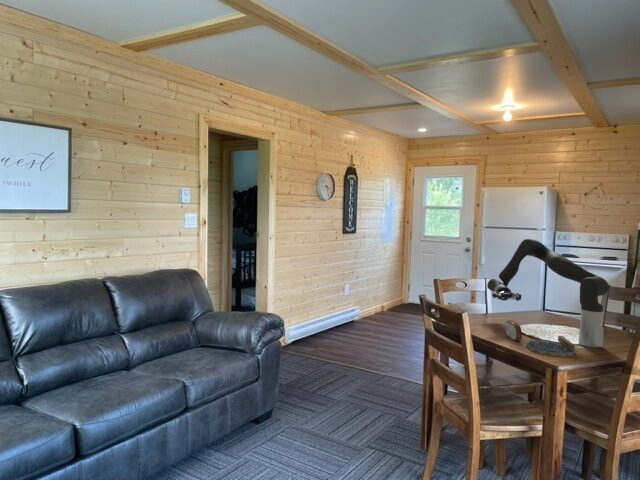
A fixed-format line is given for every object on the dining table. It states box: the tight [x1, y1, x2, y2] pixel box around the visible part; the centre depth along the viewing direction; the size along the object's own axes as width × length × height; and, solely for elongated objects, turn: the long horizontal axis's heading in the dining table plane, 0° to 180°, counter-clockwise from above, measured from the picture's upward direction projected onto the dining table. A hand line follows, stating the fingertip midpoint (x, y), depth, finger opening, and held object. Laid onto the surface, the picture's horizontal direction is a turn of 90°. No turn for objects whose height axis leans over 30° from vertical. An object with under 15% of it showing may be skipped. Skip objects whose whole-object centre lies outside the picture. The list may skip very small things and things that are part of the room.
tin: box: [505, 319, 523, 342], centre depth 234 cm, size 15×3×8 cm, turn 179°
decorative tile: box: [525, 339, 576, 358], centre depth 216 cm, size 20×20×2 cm
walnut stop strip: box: [557, 335, 576, 351], centre depth 216 cm, size 2×16×2 cm, turn 170°
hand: (509, 298), depth 244 cm, fingers open, 8 cm apart
